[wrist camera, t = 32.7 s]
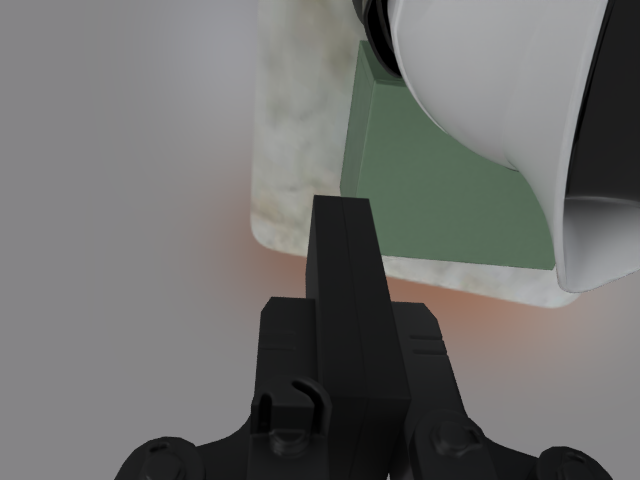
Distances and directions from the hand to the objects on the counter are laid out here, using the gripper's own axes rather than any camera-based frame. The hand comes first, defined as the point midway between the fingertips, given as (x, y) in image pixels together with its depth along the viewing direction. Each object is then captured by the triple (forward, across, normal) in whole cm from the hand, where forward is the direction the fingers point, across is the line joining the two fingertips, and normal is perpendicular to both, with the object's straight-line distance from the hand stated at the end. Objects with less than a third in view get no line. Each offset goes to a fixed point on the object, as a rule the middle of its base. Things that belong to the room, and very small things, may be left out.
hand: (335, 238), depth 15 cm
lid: (+19, +11, -8) cm, 24 cm away
